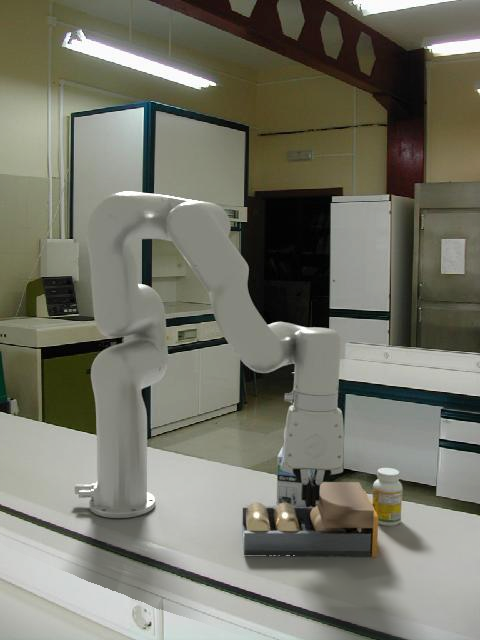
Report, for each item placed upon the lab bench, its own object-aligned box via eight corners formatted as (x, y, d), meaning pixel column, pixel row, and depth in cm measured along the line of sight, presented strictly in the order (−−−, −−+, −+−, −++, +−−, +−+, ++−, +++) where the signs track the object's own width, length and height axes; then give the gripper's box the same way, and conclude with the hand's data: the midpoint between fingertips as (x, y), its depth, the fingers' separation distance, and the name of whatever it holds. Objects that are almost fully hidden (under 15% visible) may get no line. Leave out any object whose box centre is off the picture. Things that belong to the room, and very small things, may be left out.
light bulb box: (310, 513, 138) (311, 459, 137) (275, 510, 140) (276, 456, 138) (315, 493, 149) (317, 442, 147) (283, 490, 150) (284, 440, 149)
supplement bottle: (398, 528, 132) (400, 477, 131) (369, 523, 134) (371, 473, 133) (403, 517, 137) (405, 468, 136) (374, 513, 139) (376, 464, 138)
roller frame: (244, 556, 120) (244, 515, 119) (242, 526, 132) (242, 489, 131) (376, 556, 121) (378, 516, 120) (363, 527, 133) (364, 490, 132)
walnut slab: (324, 527, 119) (325, 510, 119) (314, 497, 132) (315, 482, 132) (373, 527, 120) (373, 510, 119) (358, 498, 132) (359, 482, 132)
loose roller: (315, 541, 122) (322, 520, 122) (307, 522, 130) (314, 501, 130) (337, 548, 123) (345, 526, 122) (327, 528, 131) (335, 508, 130)
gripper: (272, 405, 119) (267, 511, 122) (363, 408, 119) (356, 514, 122) (270, 394, 127) (265, 494, 129) (355, 396, 127) (349, 497, 129)
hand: (309, 504), depth 126 cm, fingers closed
